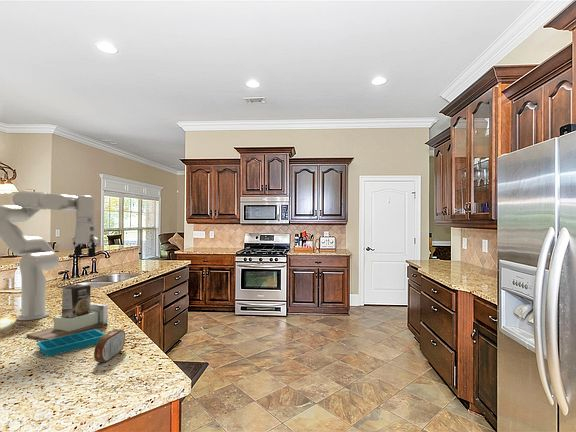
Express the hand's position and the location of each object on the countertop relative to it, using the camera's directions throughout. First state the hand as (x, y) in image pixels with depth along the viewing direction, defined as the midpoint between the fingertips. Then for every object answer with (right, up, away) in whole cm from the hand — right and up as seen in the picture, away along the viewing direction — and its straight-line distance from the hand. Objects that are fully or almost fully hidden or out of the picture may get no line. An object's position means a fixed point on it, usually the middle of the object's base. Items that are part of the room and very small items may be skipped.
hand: (84, 255), depth 161 cm
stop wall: (+10, -29, -9) cm, 32 cm away
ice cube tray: (+18, -30, -37) cm, 51 cm away
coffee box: (+6, -28, -16) cm, 33 cm away
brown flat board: (+5, -30, -19) cm, 36 cm away
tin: (+38, -29, -48) cm, 68 cm away
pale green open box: (+6, -29, -16) cm, 34 cm away
